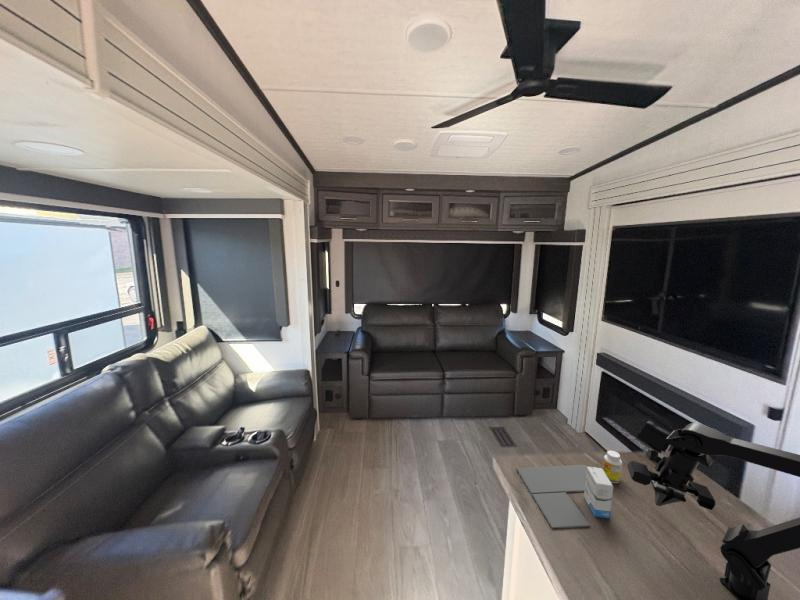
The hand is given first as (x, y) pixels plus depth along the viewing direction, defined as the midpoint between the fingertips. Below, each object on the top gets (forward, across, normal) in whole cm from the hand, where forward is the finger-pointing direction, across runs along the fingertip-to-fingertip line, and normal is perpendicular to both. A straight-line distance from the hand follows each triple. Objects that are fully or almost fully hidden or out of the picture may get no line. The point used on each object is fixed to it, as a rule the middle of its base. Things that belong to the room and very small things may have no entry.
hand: (657, 504), depth 89 cm
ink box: (+14, +11, -4) cm, 18 cm away
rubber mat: (+16, +18, -8) cm, 25 cm away
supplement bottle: (+15, +3, -21) cm, 26 cm away
